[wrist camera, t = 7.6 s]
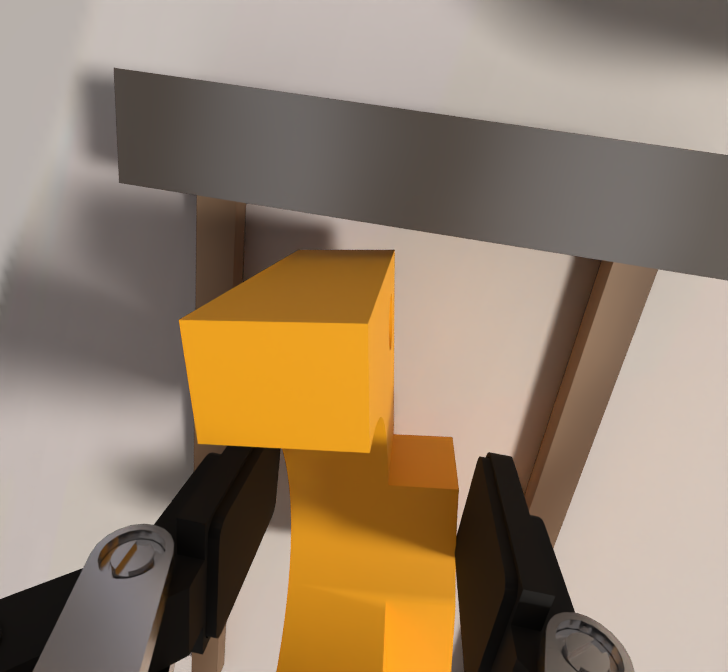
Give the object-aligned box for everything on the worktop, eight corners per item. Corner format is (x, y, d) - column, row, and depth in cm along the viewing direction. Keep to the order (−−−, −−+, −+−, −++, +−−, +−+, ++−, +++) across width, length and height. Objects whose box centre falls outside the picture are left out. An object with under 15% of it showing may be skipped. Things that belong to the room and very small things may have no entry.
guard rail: (703, 167, 12) (806, 166, 9) (490, 726, 21) (503, 830, 17) (190, 94, 13) (113, 68, 10) (187, 655, 22) (145, 741, 18)
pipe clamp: (443, 601, 16) (457, 869, 10) (319, 589, 16) (259, 838, 10) (462, 250, 12) (508, 326, 6) (298, 249, 12) (178, 319, 6)
